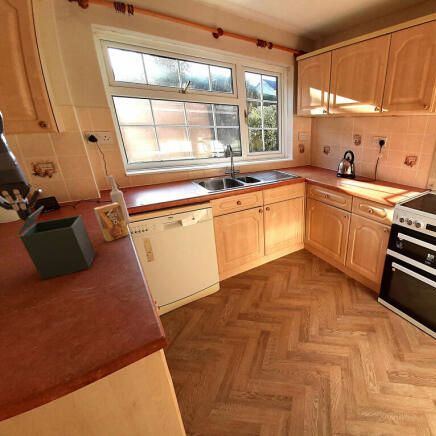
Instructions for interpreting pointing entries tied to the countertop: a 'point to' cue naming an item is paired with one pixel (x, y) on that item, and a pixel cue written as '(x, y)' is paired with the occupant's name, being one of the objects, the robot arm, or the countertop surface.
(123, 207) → the bottle
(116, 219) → the candy box
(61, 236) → the dark green open box
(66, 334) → the countertop surface
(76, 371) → the countertop surface
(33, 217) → the flap
